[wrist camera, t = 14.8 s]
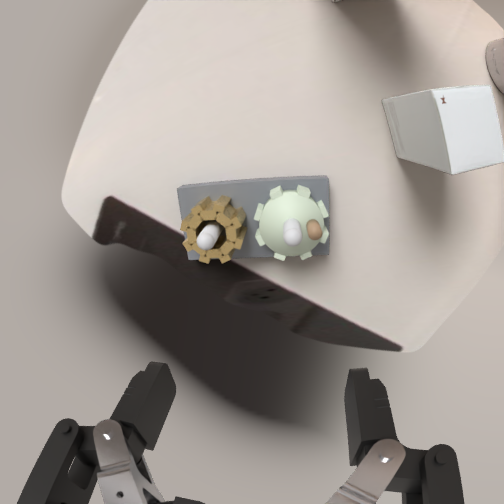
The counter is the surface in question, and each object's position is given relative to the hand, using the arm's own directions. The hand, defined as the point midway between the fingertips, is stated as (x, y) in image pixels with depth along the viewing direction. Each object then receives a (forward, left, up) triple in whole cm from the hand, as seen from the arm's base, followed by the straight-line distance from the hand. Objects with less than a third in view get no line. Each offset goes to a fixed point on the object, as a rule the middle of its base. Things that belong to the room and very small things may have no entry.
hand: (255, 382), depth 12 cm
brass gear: (+6, 0, -23) cm, 24 cm away
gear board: (+2, 0, -25) cm, 25 cm away
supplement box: (-18, -11, -25) cm, 33 cm away
